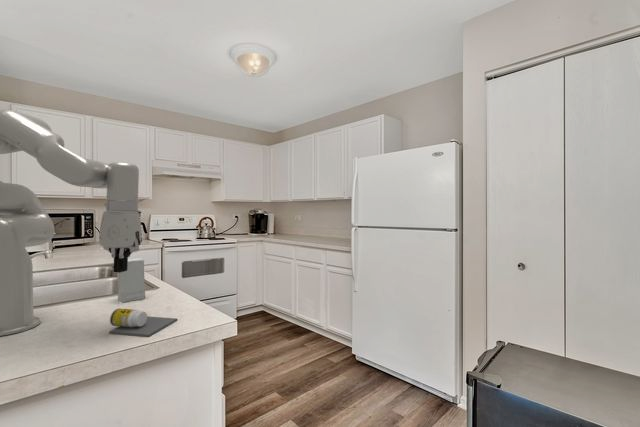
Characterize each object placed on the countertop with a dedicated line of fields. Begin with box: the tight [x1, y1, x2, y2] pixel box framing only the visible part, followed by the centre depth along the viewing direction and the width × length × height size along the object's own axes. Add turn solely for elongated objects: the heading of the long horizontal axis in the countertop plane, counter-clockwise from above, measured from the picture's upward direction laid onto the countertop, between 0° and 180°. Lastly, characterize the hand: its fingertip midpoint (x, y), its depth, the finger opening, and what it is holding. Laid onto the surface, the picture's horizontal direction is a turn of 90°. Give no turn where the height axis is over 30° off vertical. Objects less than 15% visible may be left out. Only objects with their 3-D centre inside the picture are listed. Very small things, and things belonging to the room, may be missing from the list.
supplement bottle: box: [109, 308, 148, 327], centre depth 87 cm, size 5×5×8 cm
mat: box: [108, 315, 178, 338], centre depth 88 cm, size 12×12×1 cm
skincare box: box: [116, 257, 146, 303], centre depth 114 cm, size 8×6×15 cm
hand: (120, 271), depth 88 cm, fingers closed
